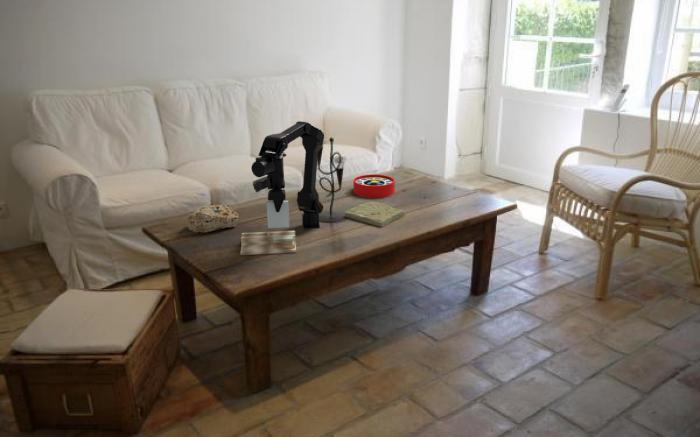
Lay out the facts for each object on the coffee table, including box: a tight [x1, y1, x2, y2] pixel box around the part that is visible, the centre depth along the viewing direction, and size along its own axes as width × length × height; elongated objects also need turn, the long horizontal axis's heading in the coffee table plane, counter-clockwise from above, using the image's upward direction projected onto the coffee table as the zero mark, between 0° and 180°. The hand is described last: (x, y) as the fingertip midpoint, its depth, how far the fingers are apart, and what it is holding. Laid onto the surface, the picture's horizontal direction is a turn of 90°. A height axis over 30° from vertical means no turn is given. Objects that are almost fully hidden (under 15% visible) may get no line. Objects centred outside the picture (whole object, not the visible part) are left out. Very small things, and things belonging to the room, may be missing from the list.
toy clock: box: [352, 173, 396, 199], centre depth 278 cm, size 20×6×20 cm
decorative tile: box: [344, 200, 405, 228], centre depth 246 cm, size 19×20×4 cm
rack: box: [240, 230, 297, 256], centre depth 215 cm, size 20×14×4 cm
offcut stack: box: [270, 235, 296, 249], centre depth 212 cm, size 9×4×4 cm, turn 96°
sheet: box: [266, 200, 290, 229], centre depth 214 cm, size 8×2×10 cm, turn 97°
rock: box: [187, 203, 240, 233], centre depth 234 cm, size 21×14×10 cm
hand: (277, 211), depth 213 cm, fingers closed on sheet, 2 cm apart
